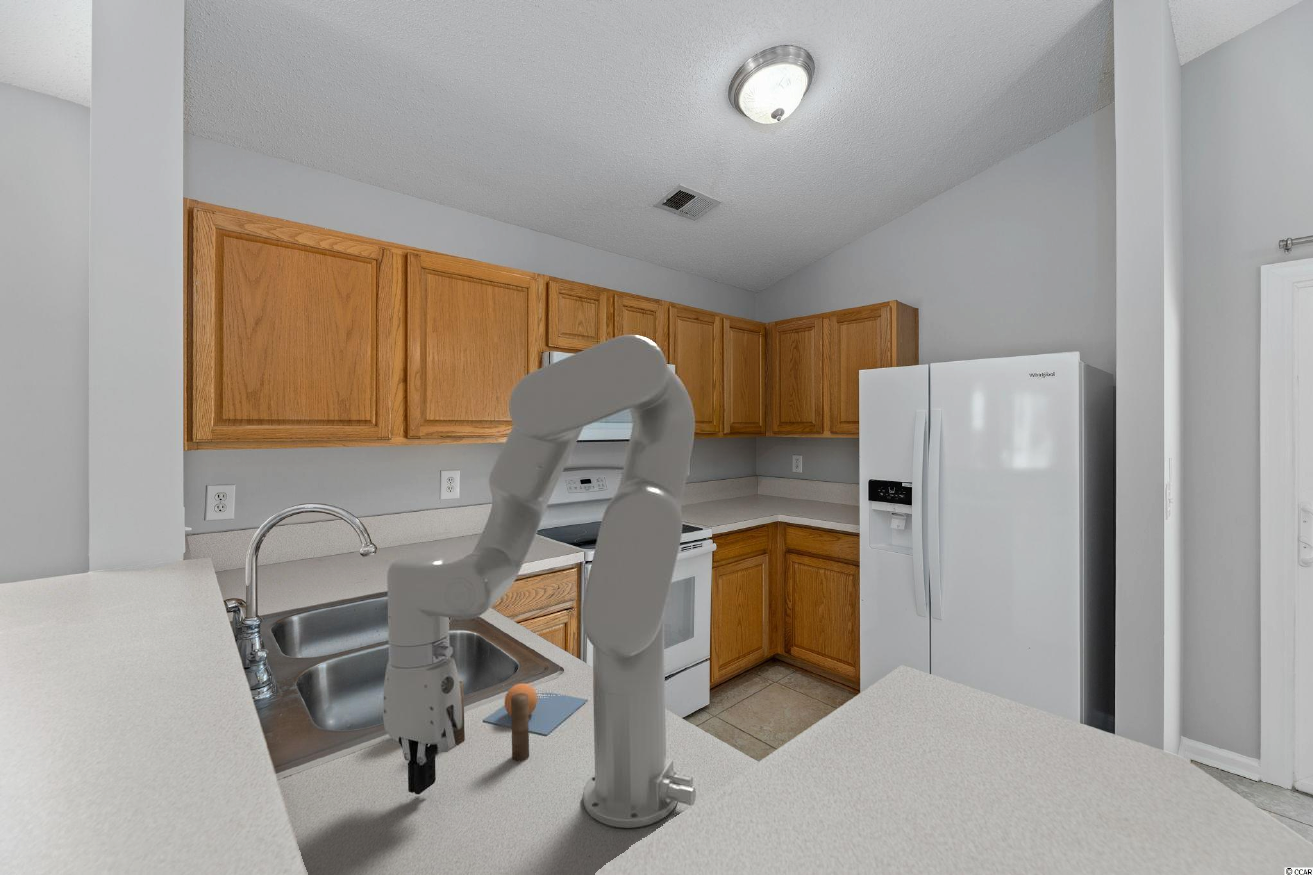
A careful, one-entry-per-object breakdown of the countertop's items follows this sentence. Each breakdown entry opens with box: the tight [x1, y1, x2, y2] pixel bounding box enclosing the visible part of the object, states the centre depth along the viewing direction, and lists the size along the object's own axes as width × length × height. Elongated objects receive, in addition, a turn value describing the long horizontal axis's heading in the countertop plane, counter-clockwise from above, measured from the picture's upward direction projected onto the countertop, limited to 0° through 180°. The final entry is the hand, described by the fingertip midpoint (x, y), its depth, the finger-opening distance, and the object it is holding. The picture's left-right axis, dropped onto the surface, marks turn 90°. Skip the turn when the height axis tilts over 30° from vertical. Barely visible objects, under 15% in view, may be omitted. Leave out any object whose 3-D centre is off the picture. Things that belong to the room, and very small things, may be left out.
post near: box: [511, 693, 530, 763], centre depth 85 cm, size 2×2×9 cm
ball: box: [504, 683, 537, 716], centre depth 97 cm, size 6×6×6 cm
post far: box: [453, 680, 466, 746], centre depth 89 cm, size 2×2×9 cm
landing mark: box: [482, 690, 589, 736], centre depth 99 cm, size 13×13×1 cm
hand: (422, 787), depth 75 cm, fingers closed
